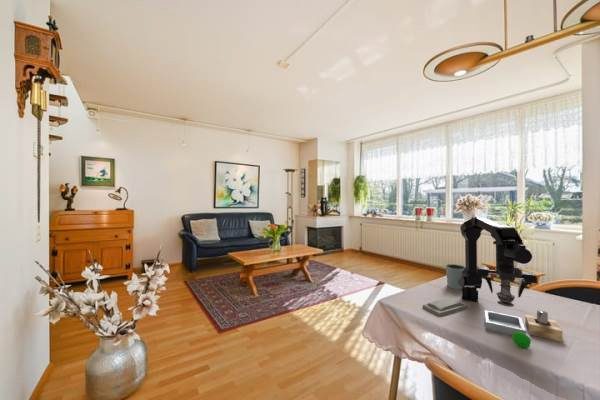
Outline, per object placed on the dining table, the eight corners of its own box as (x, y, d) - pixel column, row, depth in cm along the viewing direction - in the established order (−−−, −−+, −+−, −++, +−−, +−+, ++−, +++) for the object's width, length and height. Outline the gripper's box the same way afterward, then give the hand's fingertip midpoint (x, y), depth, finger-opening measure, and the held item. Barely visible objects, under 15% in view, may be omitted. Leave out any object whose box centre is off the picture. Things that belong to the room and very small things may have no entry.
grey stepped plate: (470, 309, 117) (470, 302, 117) (440, 318, 110) (440, 310, 110) (450, 301, 127) (450, 294, 127) (421, 308, 119) (421, 301, 119)
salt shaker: (519, 307, 98) (519, 277, 97) (503, 307, 98) (503, 277, 98) (507, 300, 103) (507, 272, 103) (492, 300, 104) (492, 272, 103)
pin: (538, 332, 96) (537, 312, 96) (536, 329, 98) (536, 309, 98) (548, 335, 94) (548, 314, 94) (546, 331, 96) (546, 311, 96)
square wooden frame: (529, 334, 95) (529, 323, 95) (525, 324, 102) (525, 314, 102) (562, 341, 90) (562, 331, 90) (555, 330, 97) (555, 320, 97)
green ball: (521, 342, 90) (521, 329, 90) (535, 350, 85) (535, 336, 85) (508, 342, 90) (508, 329, 90) (521, 351, 85) (521, 337, 85)
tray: (485, 329, 99) (485, 321, 99) (484, 316, 109) (484, 310, 109) (525, 338, 92) (525, 330, 92) (521, 324, 102) (521, 317, 102)
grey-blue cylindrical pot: (450, 289, 141) (449, 268, 141) (442, 283, 151) (442, 263, 151) (469, 290, 139) (469, 269, 139) (460, 283, 149) (460, 264, 149)
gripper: (477, 258, 99) (477, 296, 99) (540, 265, 88) (541, 308, 89) (476, 253, 108) (477, 288, 109) (534, 258, 98) (534, 297, 98)
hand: (505, 294), depth 101 cm, fingers closed on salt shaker, 8 cm apart
